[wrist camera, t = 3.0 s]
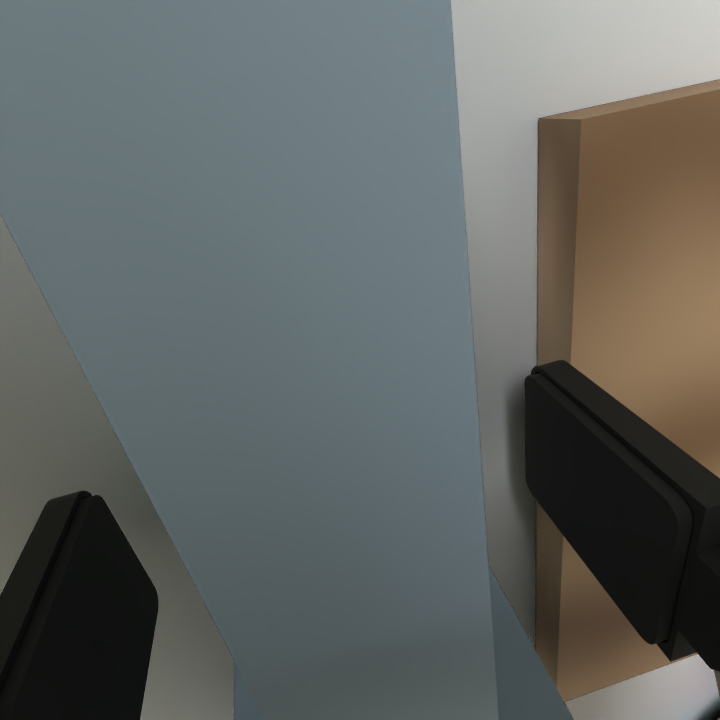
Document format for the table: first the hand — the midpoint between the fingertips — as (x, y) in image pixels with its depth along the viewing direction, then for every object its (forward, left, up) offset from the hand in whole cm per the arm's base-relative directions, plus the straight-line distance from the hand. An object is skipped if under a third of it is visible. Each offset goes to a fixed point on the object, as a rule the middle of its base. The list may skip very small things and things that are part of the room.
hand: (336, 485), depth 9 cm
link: (+1, 0, -1) cm, 2 cm away
